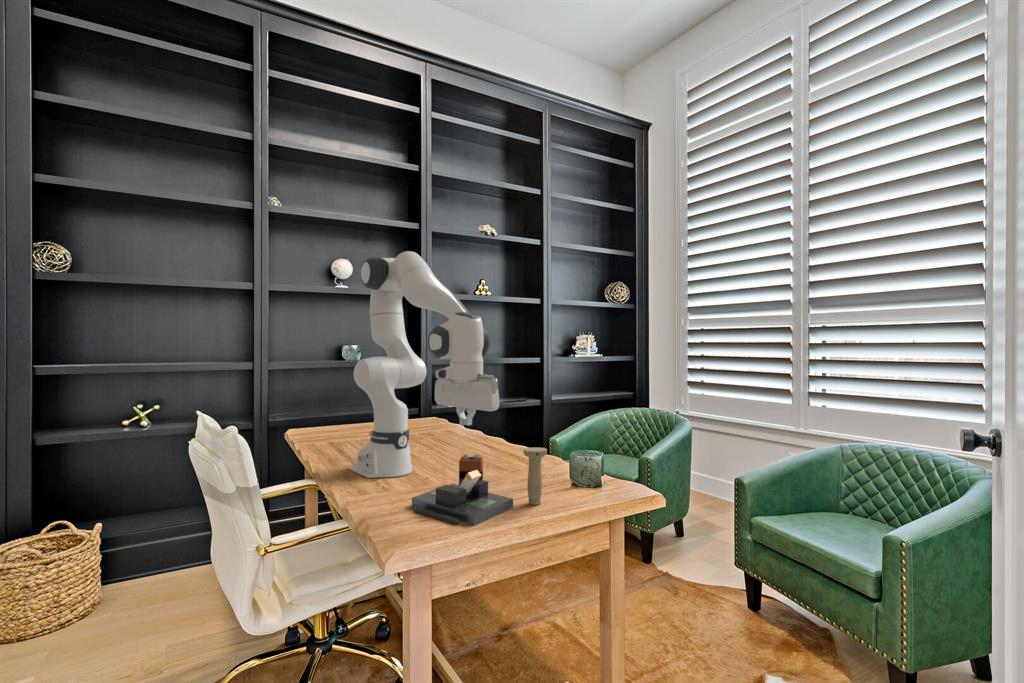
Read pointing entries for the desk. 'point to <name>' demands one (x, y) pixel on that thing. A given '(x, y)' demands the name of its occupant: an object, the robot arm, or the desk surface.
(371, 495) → the desk surface
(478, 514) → the panel
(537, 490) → the handle
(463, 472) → the battery
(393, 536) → the desk surface
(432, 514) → the dark grey flat slab
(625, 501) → the desk surface
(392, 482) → the desk surface
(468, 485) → the lever
